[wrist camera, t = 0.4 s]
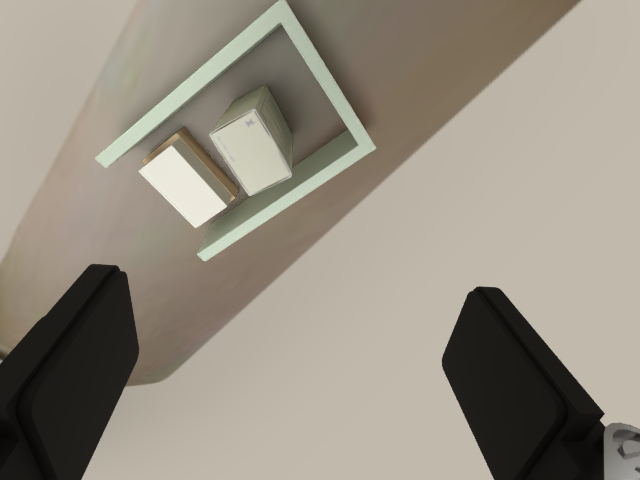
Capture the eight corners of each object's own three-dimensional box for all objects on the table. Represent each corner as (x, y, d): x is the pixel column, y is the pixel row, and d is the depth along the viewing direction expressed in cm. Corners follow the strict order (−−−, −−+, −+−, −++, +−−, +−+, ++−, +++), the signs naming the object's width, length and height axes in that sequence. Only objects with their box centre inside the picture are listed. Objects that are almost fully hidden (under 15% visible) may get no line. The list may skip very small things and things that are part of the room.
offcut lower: (184, 125, 39) (176, 132, 37) (239, 188, 43) (235, 198, 41) (151, 152, 41) (141, 161, 38) (207, 210, 45) (201, 221, 42)
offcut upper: (179, 137, 37) (171, 145, 35) (231, 195, 41) (227, 206, 38) (148, 162, 38) (138, 171, 36) (201, 216, 42) (195, 228, 39)
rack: (286, 1, 34) (283, -4, 28) (365, 129, 40) (376, 148, 34) (126, 137, 39) (94, 158, 33) (217, 230, 46) (204, 261, 40)
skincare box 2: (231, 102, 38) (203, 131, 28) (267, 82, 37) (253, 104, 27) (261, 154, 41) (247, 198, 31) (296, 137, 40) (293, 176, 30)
